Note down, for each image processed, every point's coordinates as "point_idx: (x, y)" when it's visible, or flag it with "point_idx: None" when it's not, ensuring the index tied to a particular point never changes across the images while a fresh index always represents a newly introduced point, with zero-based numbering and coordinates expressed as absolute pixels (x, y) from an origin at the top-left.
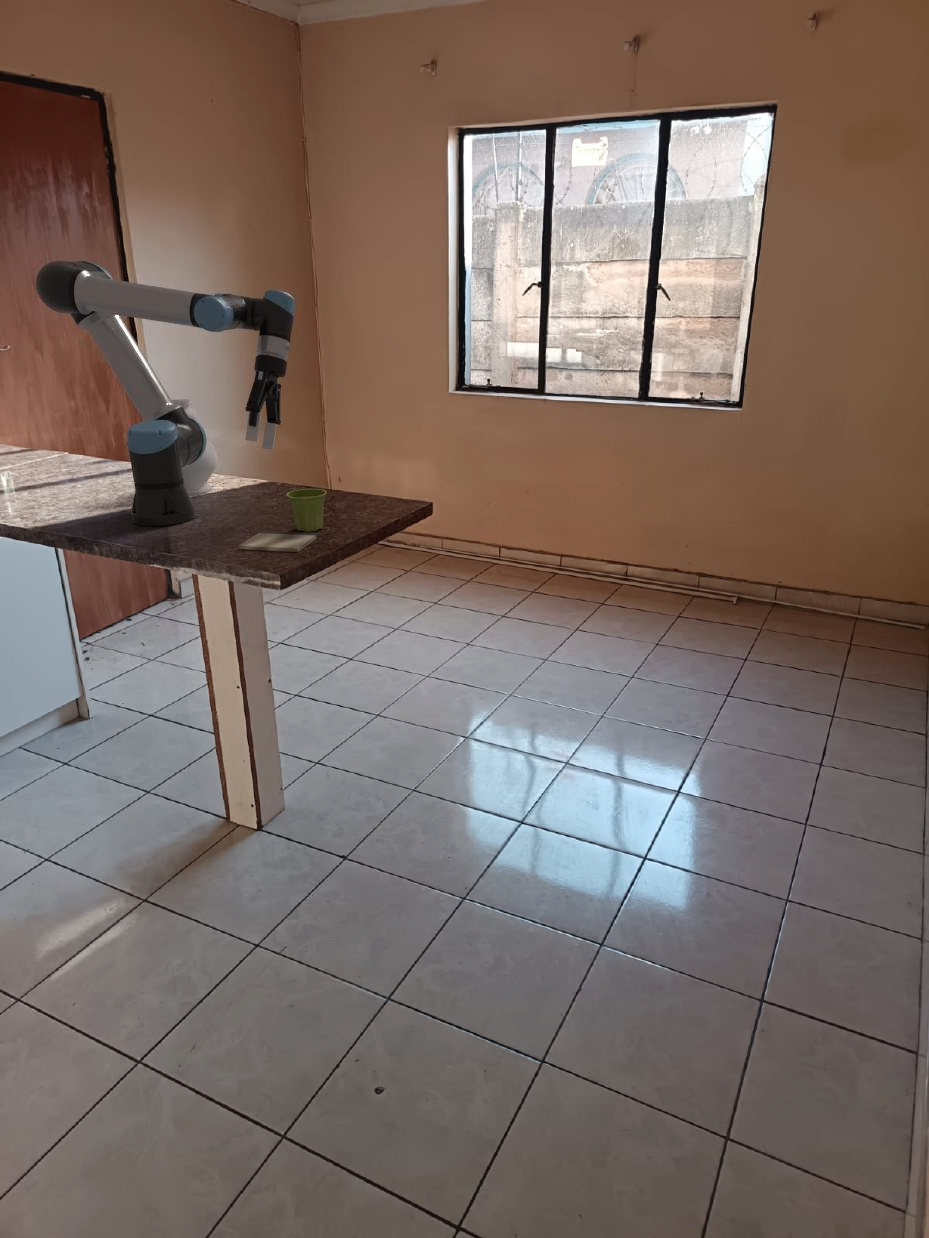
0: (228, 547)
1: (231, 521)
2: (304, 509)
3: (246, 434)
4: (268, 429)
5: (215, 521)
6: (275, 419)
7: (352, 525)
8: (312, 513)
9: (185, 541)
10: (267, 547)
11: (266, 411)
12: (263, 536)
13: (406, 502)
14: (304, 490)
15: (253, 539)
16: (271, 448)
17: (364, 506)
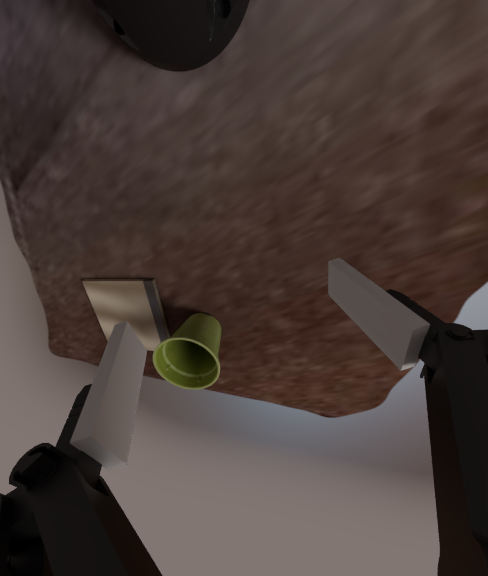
0: (83, 261)
1: (205, 183)
2: (170, 353)
3: (110, 341)
4: (380, 321)
5: (195, 146)
6: (428, 385)
7: (235, 367)
8: (180, 355)
9: (67, 173)
10: (97, 316)
11: (448, 399)
12: (130, 294)
13: (371, 399)
14: (211, 353)
15: (113, 287)
16: (330, 293)
17: (344, 358)
